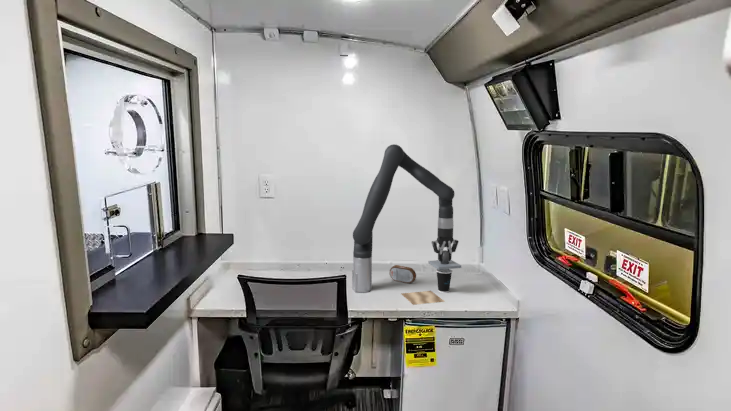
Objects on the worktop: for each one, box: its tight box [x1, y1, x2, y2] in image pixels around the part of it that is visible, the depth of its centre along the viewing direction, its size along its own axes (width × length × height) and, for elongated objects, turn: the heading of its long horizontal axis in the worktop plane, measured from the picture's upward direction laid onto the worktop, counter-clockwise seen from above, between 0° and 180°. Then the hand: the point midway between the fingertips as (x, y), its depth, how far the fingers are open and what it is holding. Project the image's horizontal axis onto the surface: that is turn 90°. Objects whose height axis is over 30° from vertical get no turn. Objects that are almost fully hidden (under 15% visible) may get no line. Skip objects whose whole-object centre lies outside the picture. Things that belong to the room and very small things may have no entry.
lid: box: [428, 249, 462, 270], centre depth 229 cm, size 12×12×7 cm
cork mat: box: [400, 290, 446, 306], centre depth 222 cm, size 16×16×1 cm
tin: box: [389, 264, 417, 284], centre depth 247 cm, size 15×3×8 cm, turn 58°
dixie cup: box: [435, 268, 453, 294], centre depth 231 cm, size 8×8×11 cm
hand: (444, 260), depth 229 cm, fingers closed on lid, 4 cm apart
